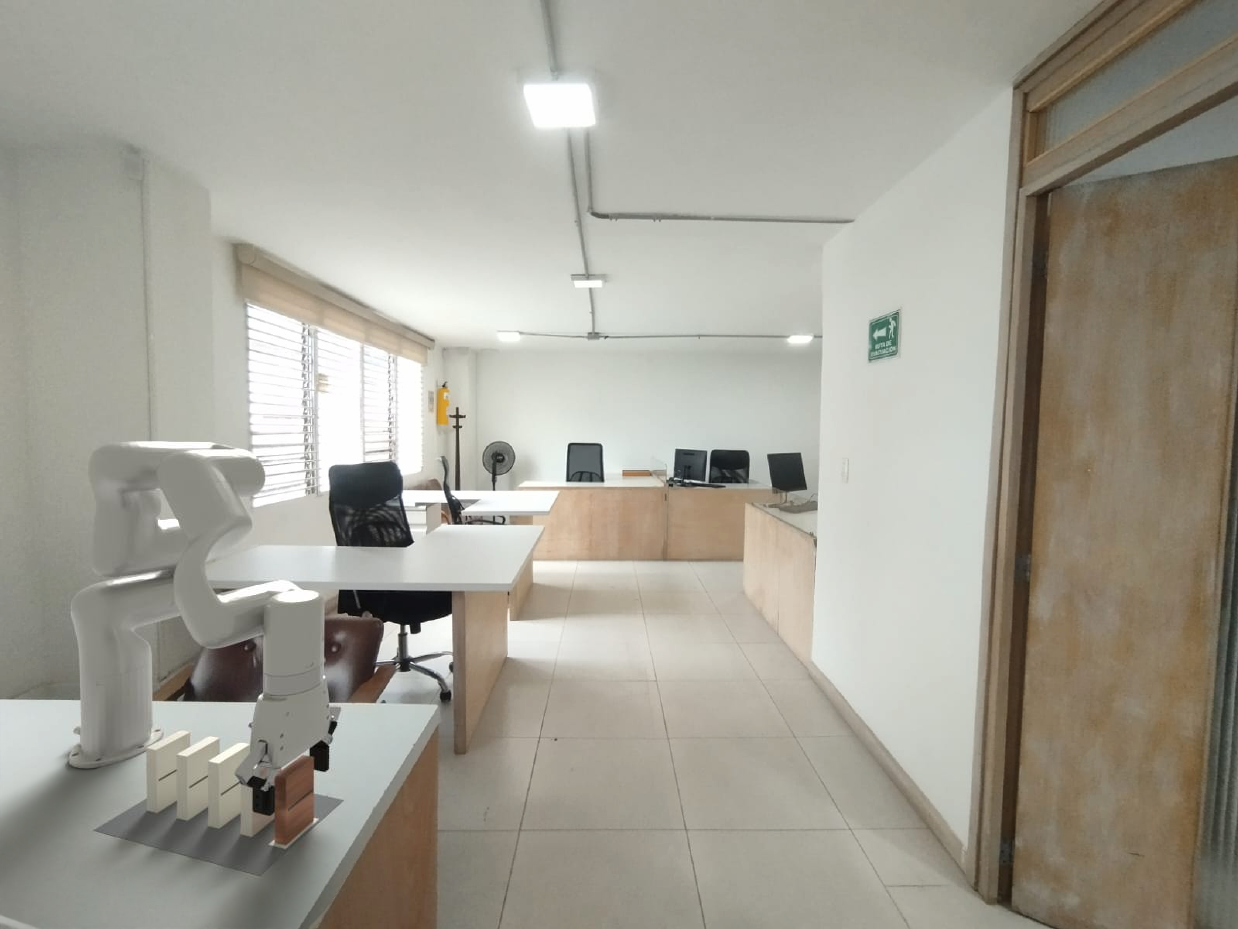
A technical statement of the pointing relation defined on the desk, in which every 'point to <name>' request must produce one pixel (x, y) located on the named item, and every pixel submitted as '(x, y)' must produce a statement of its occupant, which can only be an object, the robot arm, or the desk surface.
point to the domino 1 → (164, 770)
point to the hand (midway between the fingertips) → (293, 790)
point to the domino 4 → (250, 819)
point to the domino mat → (209, 835)
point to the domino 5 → (294, 799)
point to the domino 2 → (194, 777)
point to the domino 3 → (225, 785)
